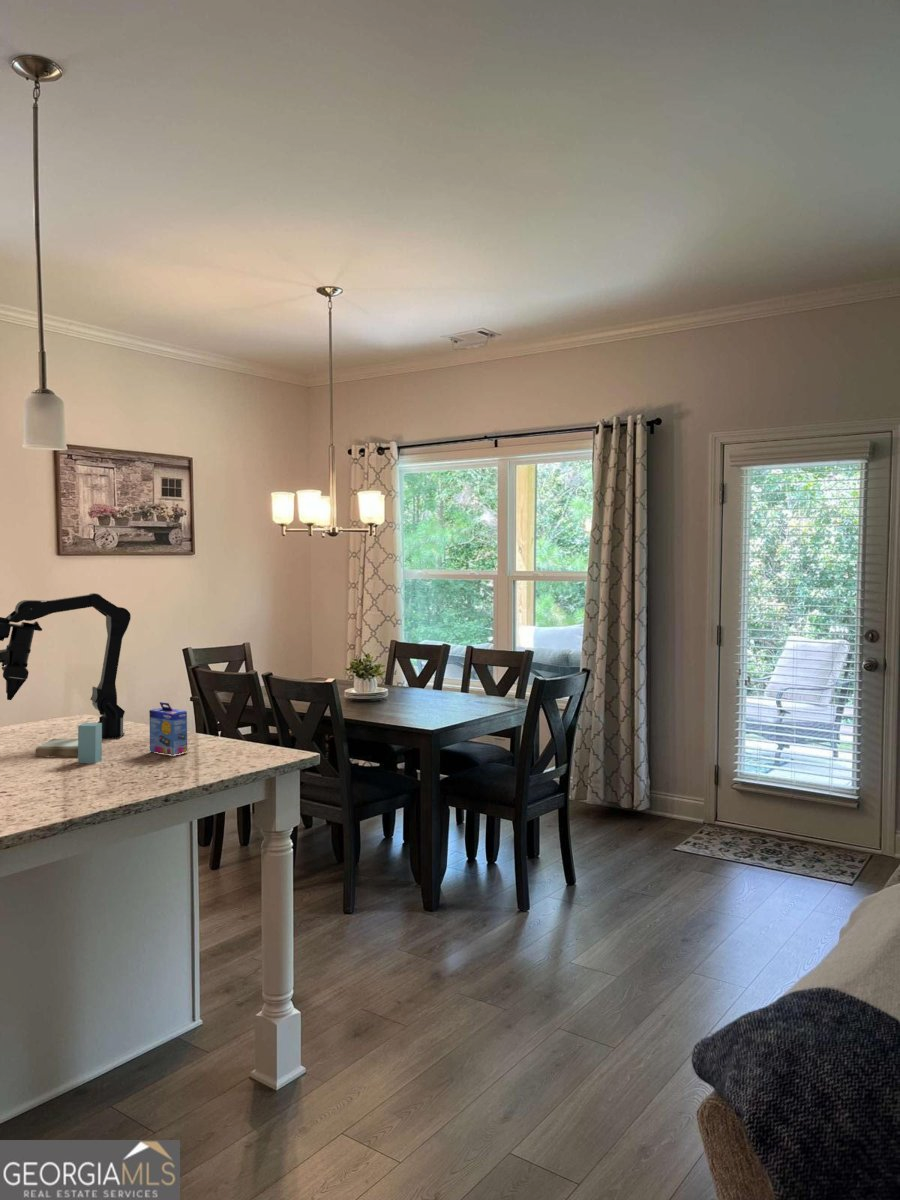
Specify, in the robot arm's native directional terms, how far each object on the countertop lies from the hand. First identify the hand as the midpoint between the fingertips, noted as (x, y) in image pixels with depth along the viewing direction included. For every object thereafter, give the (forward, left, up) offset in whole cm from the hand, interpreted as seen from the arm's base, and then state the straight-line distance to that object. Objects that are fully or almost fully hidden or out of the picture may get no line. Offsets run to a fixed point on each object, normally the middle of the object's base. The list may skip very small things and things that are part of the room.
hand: (8, 696), depth 249 cm
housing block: (-29, +22, -14) cm, 39 cm away
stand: (-19, +10, -14) cm, 26 cm away
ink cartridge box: (-47, +12, -14) cm, 51 cm away
